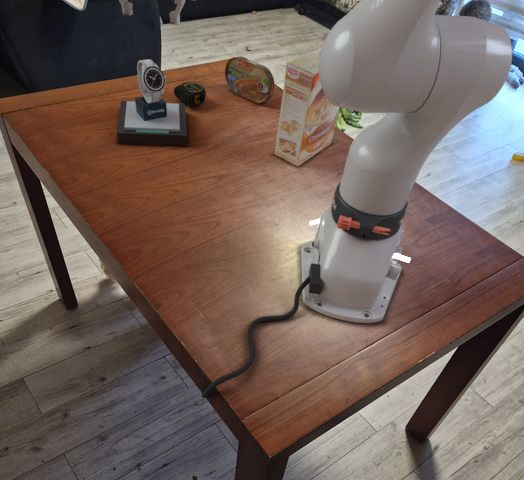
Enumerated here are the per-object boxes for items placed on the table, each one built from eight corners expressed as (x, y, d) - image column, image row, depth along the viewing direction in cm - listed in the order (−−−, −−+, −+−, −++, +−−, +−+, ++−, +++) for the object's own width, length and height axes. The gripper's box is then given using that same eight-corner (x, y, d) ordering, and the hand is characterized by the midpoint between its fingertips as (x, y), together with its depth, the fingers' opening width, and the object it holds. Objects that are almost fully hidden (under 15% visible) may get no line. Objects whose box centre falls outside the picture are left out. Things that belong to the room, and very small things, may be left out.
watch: (147, 125, 104) (143, 71, 95) (133, 108, 108) (127, 55, 99) (171, 120, 106) (168, 68, 97) (156, 104, 110) (152, 52, 101)
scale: (187, 145, 106) (186, 132, 103) (118, 143, 103) (116, 130, 101) (185, 113, 115) (185, 100, 112) (122, 110, 112) (120, 97, 110)
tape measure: (173, 99, 118) (172, 83, 116) (195, 93, 122) (195, 78, 119) (188, 111, 116) (188, 95, 113) (210, 105, 119) (211, 89, 116)
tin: (223, 87, 126) (224, 52, 119) (231, 84, 127) (233, 49, 121) (266, 109, 121) (270, 74, 114) (274, 105, 122) (278, 70, 116)
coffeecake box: (298, 167, 105) (314, 74, 90) (272, 154, 107) (284, 61, 92) (332, 143, 113) (353, 54, 98) (308, 132, 115) (325, 43, 100)
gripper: (77, -84, 78) (92, 14, 89) (196, -63, 77) (196, 34, 88) (94, -90, 82) (106, 4, 93) (207, -70, 81) (206, 23, 92)
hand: (151, 19), depth 90 cm, fingers open, 8 cm apart
